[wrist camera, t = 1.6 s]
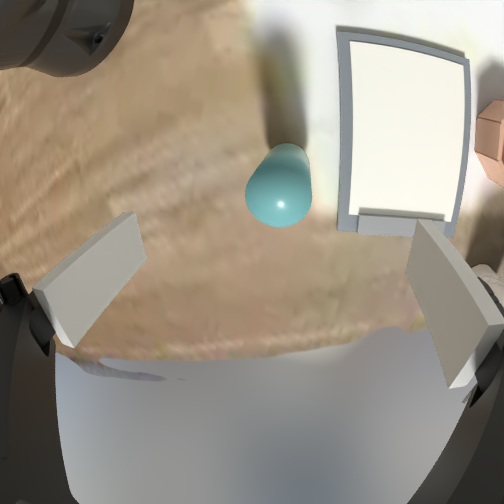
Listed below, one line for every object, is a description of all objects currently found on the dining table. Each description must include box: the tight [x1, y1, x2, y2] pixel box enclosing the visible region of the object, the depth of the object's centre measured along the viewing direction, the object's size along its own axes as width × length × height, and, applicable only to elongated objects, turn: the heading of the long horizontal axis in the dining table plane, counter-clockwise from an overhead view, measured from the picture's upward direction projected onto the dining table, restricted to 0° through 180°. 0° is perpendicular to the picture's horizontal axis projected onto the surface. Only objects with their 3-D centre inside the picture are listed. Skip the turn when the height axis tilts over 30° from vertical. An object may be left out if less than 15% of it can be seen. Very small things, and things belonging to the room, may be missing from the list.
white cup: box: [471, 264, 504, 307], centre depth 24 cm, size 8×8×10 cm
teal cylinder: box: [245, 143, 312, 227], centre depth 21 cm, size 4×4×11 cm
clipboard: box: [337, 31, 471, 238], centre depth 21 cm, size 20×14×2 cm
